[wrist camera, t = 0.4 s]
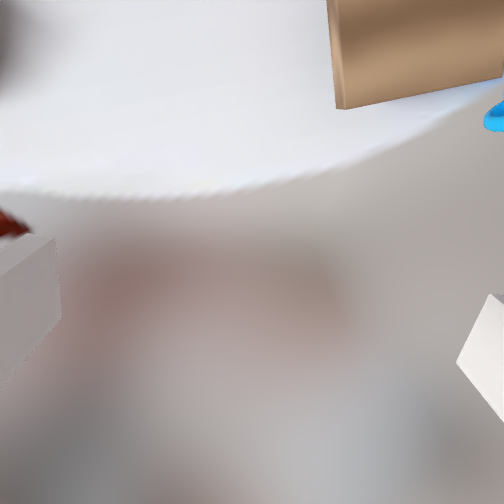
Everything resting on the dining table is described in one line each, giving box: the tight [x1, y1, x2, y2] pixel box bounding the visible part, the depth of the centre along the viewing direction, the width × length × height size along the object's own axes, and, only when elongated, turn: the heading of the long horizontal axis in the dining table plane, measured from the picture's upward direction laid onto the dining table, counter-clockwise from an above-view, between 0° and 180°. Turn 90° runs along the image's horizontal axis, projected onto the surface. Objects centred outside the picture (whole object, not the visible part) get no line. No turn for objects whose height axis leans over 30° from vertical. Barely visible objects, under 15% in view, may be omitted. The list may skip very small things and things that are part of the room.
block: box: [326, 0, 504, 110], centre depth 24 cm, size 11×11×3 cm
